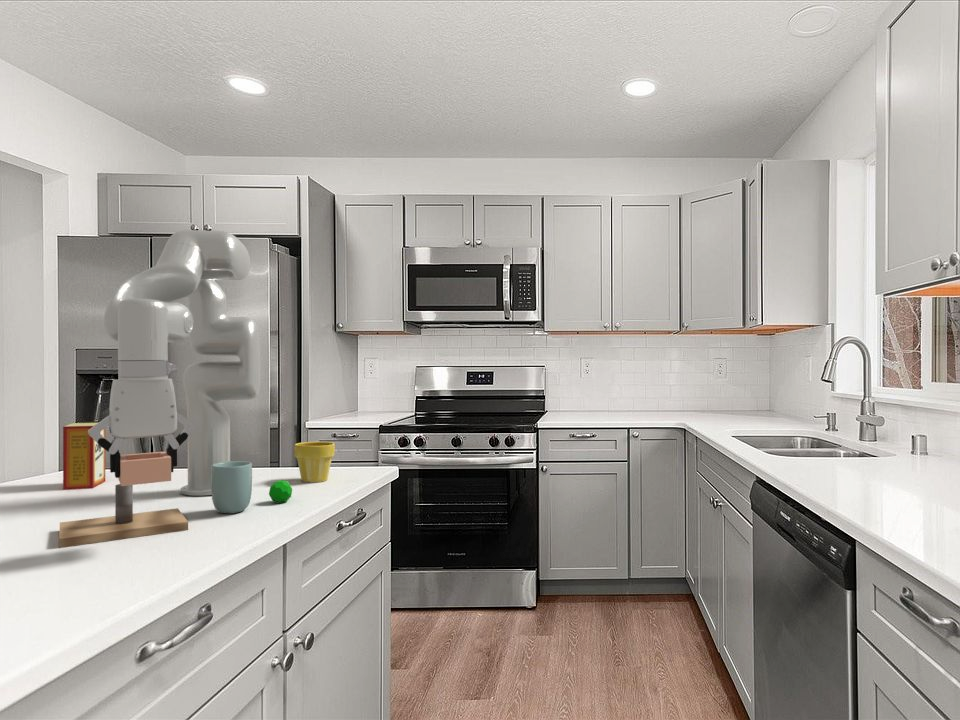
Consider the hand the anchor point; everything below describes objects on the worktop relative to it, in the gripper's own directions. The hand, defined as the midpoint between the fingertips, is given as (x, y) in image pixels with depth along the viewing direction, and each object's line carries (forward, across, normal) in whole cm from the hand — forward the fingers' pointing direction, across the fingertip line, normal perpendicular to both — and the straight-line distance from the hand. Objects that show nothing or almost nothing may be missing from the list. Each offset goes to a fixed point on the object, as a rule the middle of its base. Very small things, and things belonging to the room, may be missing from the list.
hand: (144, 473), depth 107 cm
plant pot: (+14, -44, -40) cm, 61 cm away
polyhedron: (+13, -29, -19) cm, 37 cm away
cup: (+13, -18, -16) cm, 27 cm away
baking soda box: (+14, +7, -67) cm, 69 cm away
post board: (+13, +2, -12) cm, 18 cm away
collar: (+1, 0, 0) cm, 1 cm away
